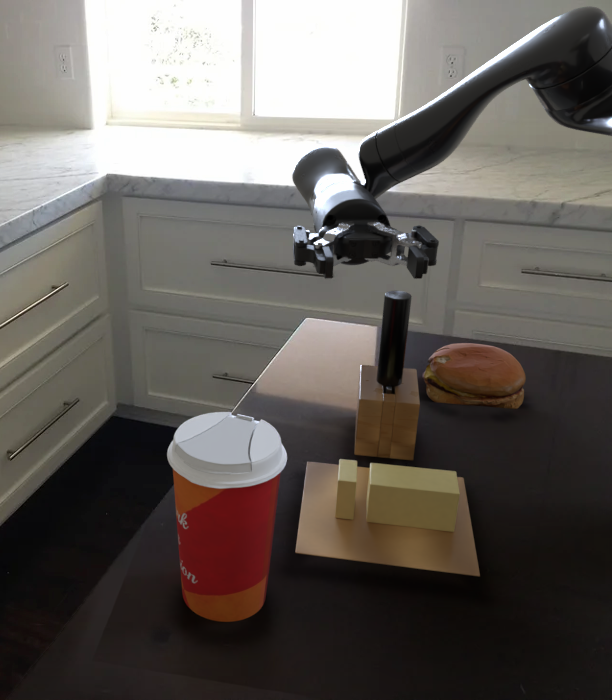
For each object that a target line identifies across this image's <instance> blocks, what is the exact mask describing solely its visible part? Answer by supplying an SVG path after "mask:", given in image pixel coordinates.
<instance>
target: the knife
mask: <svg viewBox="0 0 612 700" xmlns="http://www.w3.org/2000/svg"><path fill="white" fill-rule="evenodd" d="M412 297H413V296H412V294H411V293H409V292H407V291H404V290H389V291H386V292H385V293H384V297H383V309H382V317H381V318H382V319H381V327H380V328H381V329H380V339H379V349H378V358H377V366H378V368H377V378H376V380H377V382H378V383H379V384H381V385H384V386H385V394H391V391H392V387H395V386H399V385H400V384H401V383H402V378H403V369H404V368H405V360H406V350H407V341H408V333H409V323H410V316H411V315H410V314H411V306H412V305H411V304H412Z"/></svg>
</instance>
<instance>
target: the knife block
mask: <svg viewBox="0 0 612 700" xmlns="http://www.w3.org/2000/svg"><path fill="white" fill-rule="evenodd" d="M377 368H378V365H368V364H367V365H366V364H360V366H359V378H358V387H357V398H356V412H355V428H354V429H355V430H354V453H353V454H354V455H355V456H366V457H375V458H382V459H383V458H384V459H394V460H402V461H403V460H404V461H405V460H406V461H414V457H415V447H416V441H417V431H418V425H419V424H418V423H419V416H420V408H421V402H420V391H419V382H418V372H417V369H416V368H408V367H407V368H406V367H404V369H403V378H402V383H401V384H400V385H399V386H395V387H392V391H391V394H385V386H384V385H381V384H379V383H378V382H377V380H376V378H377Z"/></svg>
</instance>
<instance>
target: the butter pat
mask: <svg viewBox="0 0 612 700" xmlns="http://www.w3.org/2000/svg"><path fill="white" fill-rule="evenodd" d="M338 465H339V471H338V483H337V495H336V510H335V518H342V519H350V520H353V517H354V506H355V495H356V485H357V467H358V460H355V459H344V458H340V459H339V460H338Z"/></svg>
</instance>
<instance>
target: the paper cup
mask: <svg viewBox="0 0 612 700" xmlns="http://www.w3.org/2000/svg"><path fill="white" fill-rule="evenodd" d="M166 457H167V461H168V464H169V465H170V467H171V468H172V475H173V476H172V477H173V490H174V502H175V503H174V504H175V516H176V530H177V543H178V544H177V545H178V556H179V565H180V566H179V568H180V580H181V581H180V582H181V593H182V598H183V601H184V603H185V605H186V606H187V607H188V608H189V609H190V611H192V613H193V612H194V613H195V614H196V615H198V616H199V617H202V618H204V619H207V620H210V621H214V622H222V623H231V622H232V623H233V622H238V621H243V620H245V619H248V618H250V617H253V616H254V615H255V614H257V613H258V612H259V611H260V610H261V609H262V607H263V606H264V604H265V602H266V596H267V590H268V583H269V575H270V566H271V556H272V549H273V543H274V542H273V541H274V533H275V525H276V515H277V506H278V497H279V490H280V481H281V473H282V471H283V470H284V469H285V467H286V465H287V460H288V453H287V450H286V448H285V446H284V444H283V443H282V438H281V435H280V433H279V432H278V430H277V429H276V428H275V427H274V426H273V425H272V424H271V423H269V422H268V421H266V420H264V419H260V420H255V417H252V416H248V415H243V414H239V413H237V414H236V415H233V414H232V412H231V411H215V412H207V413H202V414H200V415H196V416H193V417H191V418H189V419H187V420H185V421H184V422H182V424H180V425H179V427H178V428H177V429H176V430H175V432H174V434H173V439H172V440H171V442H170V444H169V446H168V448H167V452H166Z"/></svg>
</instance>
